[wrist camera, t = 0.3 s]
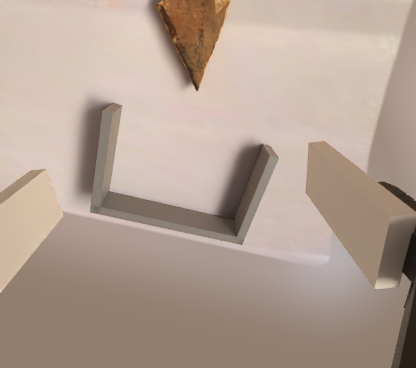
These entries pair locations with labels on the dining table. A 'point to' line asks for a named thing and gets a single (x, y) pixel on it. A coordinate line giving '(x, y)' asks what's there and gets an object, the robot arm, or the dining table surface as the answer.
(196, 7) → the shard
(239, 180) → the dining table surface
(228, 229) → the box
